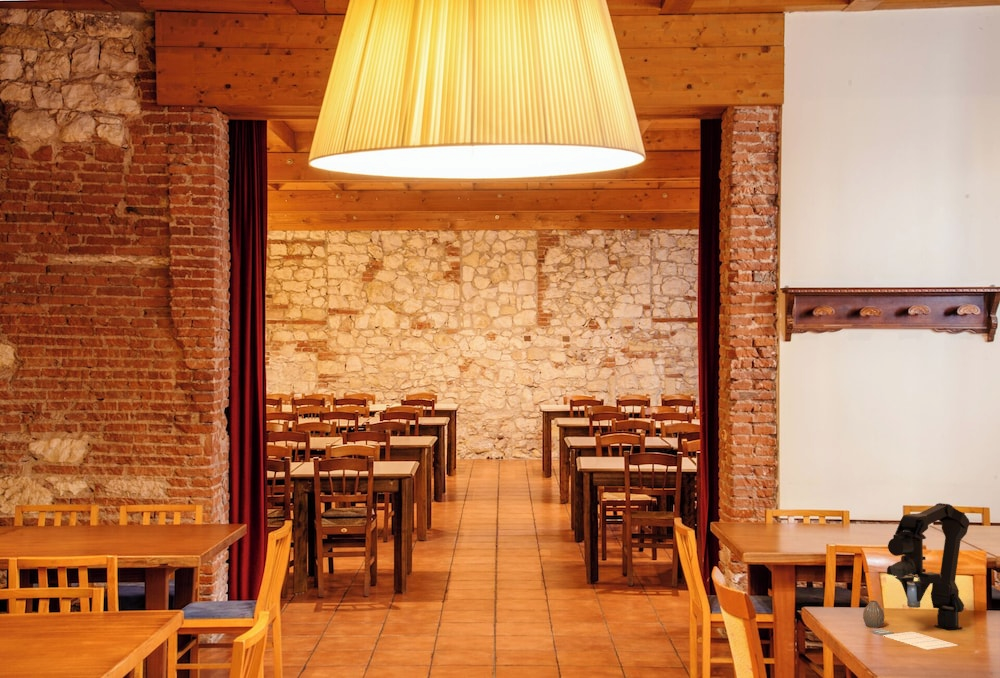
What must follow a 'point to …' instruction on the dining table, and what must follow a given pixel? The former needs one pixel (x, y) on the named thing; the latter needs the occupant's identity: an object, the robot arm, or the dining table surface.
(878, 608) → the vase
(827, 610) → the dining table surface
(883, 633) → the grey striped tile
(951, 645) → the paper
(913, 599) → the grey capped bottle
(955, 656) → the dining table surface
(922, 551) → the robot arm
